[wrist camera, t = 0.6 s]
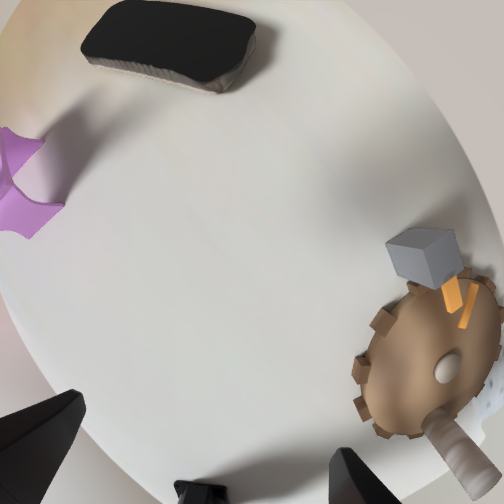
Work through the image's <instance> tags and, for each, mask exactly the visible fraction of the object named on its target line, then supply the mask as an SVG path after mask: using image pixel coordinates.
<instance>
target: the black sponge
mask: <svg viewBox="0 0 504 504" xmlns="http://www.w3.org/2000/svg"><path fill="white" fill-rule="evenodd" d="M255 28H256V25H255V23H254V22H253V21H252V20H251V19H249V18H247V17H244V16H240V15H236V14H232V13H228V12H224V11H220V10H215V9H210V8H205V7H199V6H193V5H186V4H179V3H170V2H160V1H146V0H124V1H121V2H119V3H117V4H115V5H113V6H111V7H110V8H109V9H108V10H107V11H106V12H105V14H104V15H103V16H102V18H101V19H100V20H99V21H98V22H97V24H96V25H95V26H94V27H93V28H92V29H91V31H90V32H89V33H88V35H87V36H86V38H85V39H84V41H83V43H82V44H81V48H80V49H81V52H82V53H83V55H84V56H85V57H86V59H87V60H88V61H89V63H90V64H92V65H93V66H94V67H99V68H104V69H109V70H113V71H118V72H123V73H128V74H134V75H138V76H144V77H146V78H151V79H154V80H157V81H162V82H164V83H165V82H166V83H169V84H174V85H176V86H182V87H184V88H187V89H190V90H193V91H196V92H200V93H203V94H208V95H216V94H220V93H222V92H224V91H225V90H226V89H227V88H228V87H229V86H230V85H231V84H232V82H233V81H234V80H235V79H236V77H237V76H238V75H239V74H240V73H241V71H242V70H243V68H244V66H245V64H246V62H247V59H248V57H249V56H250V54H251V53H252V51H253V50H254V48H255V44H256V38H255V34H254V31H255Z"/></svg>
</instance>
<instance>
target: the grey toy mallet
mask: <svg viewBox="0 0 504 504" xmlns="http://www.w3.org/2000/svg"><path fill="white" fill-rule="evenodd" d="M385 244H386V247H387V249H388V252H389V254H390V257H391V260H392V262H393V265H394V268H395V270H396V273H397V275H398V276H401V277H403V278H406V279H408V280H411V281H413V282H416V283H419V284H421V285H424V286H426V287H429V288H431V289H434V290H436V289H438V288H439V287H441V288H442V292H443V296H444V300H445V304H446V308H447V312H449V313H451V314H452V313H453V312H455V311H456V310H457V309H459V308H460V307H461V306H462V305H463V303H462V298H461V293H460V289H459V285H458V280H457V276H456V275H457V274H458V273H460V272H461V271H462V270H464V266H463V262H462V258H461V254H460V251H459V247H458V244H457V240H456V237H455V234H454V231H453V230H450V229H430V228H411V229H409V230H407V231H406V232H404V233H402V234H400V235H399V236H397V237H395V238H394V239H392V240H390V241H388V242H387V243H385Z"/></svg>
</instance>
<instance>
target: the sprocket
mask: <svg viewBox="0 0 504 504" xmlns="http://www.w3.org/2000/svg"><path fill="white" fill-rule="evenodd" d="M470 274H471V268H466V267H464V270H462V271H461V272H460V273H458V274H457V275H456V276H457V280H458V285H459V289H460V293H461V298H462V303H463V305H462V306H461V307H460V308H459V309H457V310H456V311H455V312H453V313H452V314H451V313H449V312H447V308H446V304H445V300H444V296H443V292H442V288H441V287H439V288H438V289H436V290H434V289H431V288H429V287H426V286H424V285H421V284H419V283H416V282H413V281H411V280H410V281H409V282H407V286H408V289H409V293H408V294H407V295H406V296H405V297H404V298H403V299H401V300H400V301H399V302H398V303H397V304H396V306H395V307H394V308H393V309H392V310H391V311H390V312H389V313H388V312H386V311H385V310H384V309H382V308H381V309H380V311H379V312H378V314H377V315H376V317H375V318H374V319H373V321H372V322H371V324H370V325H369V326H370V327H372V328H373V329H374V330H375V331H376V333H375V335H374V336H373V338H372V340H371V342H370V345H369V347H368V350H367V352H366V355H365V357H355V360H354V365H353V370H352V374H351V375H352V376H353V378H354V380H355V382H356V383H357V384H361V385H360V386H361V394H362V396H361V397H359V398H357V399H355V400H353V401H354V404H355V406H356V408H357V411H358V413H359V415H360V417H361V419H362V421H363V422H365V421H367V420H369V419H371V418H373V420H374V421H375V423H374V424H373V425H372V426H373V428H374V429H375V431H376V433H377V435H378V436H380V437H383V438H386V439H389V438H390V437H391V436H392V435H393V434H398V435H407V436H408V438H409V439H414V438H418V437H422V436H423V435H424V433H425V435H426V436H427V438H428V439H429V440H430V442H431V443H432V444H433V446H434V447H435V449H436V450H437V451H438V453H439V454H440V455H441V457H442V458H443V460H444V461H445V462H446V464H447V465H448V467H449V468H450V469H451V471H452V472H453V474H454V475H455V477H456V478H457V479H458V481H459V482H460V484H461V485H462V486H463V488H464V489H465V491H466V492H467V494H468V495H469V497H470V498H471V499H472V501H475V500H477V499H479V498H481V497H482V496H484V495H485V494H486V493H487V492H489V491H490V490H491V489H492V488H493V487H494V486H495V485H496V484H497V483H498V481H499V480H500V479H501V477H502V474H501V472H500V471H499V470H498V469H497V468H496V467H495V465H494V464H493V463H492V462H491V461H490V460H489V459H488V457H487V456H486V455H485V454H484V453H483V452H482V451H481V450H480V448H479V447H478V446H477V445H476V444H475V443H474V442H473V440H472V439H471V438H470V437H469V436H468V435H467V434H466V433H465V432H464V430H463V429H462V428H461V427H460V426H459V425H458V424H457V423H456V422H455V421H454V420H453V419H455V418H456V417H457V413H458V412H459V411H460V410H461V409H462V408H464V407H465V406H466V405H467V404H468V402H469V401H470V400H471V399H472V398H473V397H474V396H475V397H477V396H478V394H479V393H480V391H481V390H482V389H483V387H484V386H485V384H484V381H485V380H486V378H487V376H488V374H489V372H490V370H491V368H492V366H493V363H494V361H497V360H498V357H499V354H500V351H501V347H502V346H501V345H499V342H500V336H501V324H502V323H503V322H504V307H502V306H499V305H498V304H497V301H496V299H495V297H494V295H493V293H494V291H495V289H496V286H495V285H494V283H493V282H492V281H491V280H490V278H488V277H484V276H480V275H478V276H477V278H476V280H472V279H470Z"/></svg>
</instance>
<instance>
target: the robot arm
mask: <svg viewBox="0 0 504 504" xmlns="http://www.w3.org/2000/svg"><path fill="white" fill-rule="evenodd" d="M85 413H86V405H85V401H84V397H83V394H82V393H81V392H79V391H76V390H74V389H70V390H68V391H66V392H63V393H61V394H59V395H57V396H54V397H52V398H49V399H47V400H44V401H42V402H40V403H37V404H35V405H32V406H30V407H27V408H25V409H22V410H20V411H17V412H15V413H12V414H9V415H7V416H5V417H2V418H0V504H40V503H41V501H42V499H43V497H44V495H45V493H46V491H47V489H48V487H49V485H50V484H51V482H52V480H53V478H54V476H55V474H56V472H57V471H58V469H59V467H60V465H61V463H62V461H63V460H64V458H65V456H66V454H67V452H68V451H69V449H70V447H71V445H72V444H73V441H74V439H75V437H76V434H77V432H78V429H79V427H80V425H81V422H82V420H83V418H84V415H85ZM174 488H175V490H176V493H177V495H178V498H179V501H178V504H230V503H229V497H228V492H227V488H226V487H224V486H214V485H202V484H193V483H185V482H177V481H176V482H174ZM329 504H402V503H401V502H400V501H399V500H398V499H397V498H396V497H395V496H394V495H393V494H392V493H391V491H390V490H389V489H388V488H387V487H386V486H385V485H384V484H383V483H382V482H381V481H380V480H379V479H378V478H377V476H376V475H375V474H374V473H373V472H372V471H371V470H370V469H369V468H368V467H367V465H366V464H365V463H364V462H363V461H362V460H361V459H360V458H359V456H358V455H357V454H356V453H355V452H354V451H353V450H352V449H351V448H349V447H340V448H338V449H337V451H336V452H335V454H334V455H333V457H332V458H331V460H330V463H329Z"/></svg>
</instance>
